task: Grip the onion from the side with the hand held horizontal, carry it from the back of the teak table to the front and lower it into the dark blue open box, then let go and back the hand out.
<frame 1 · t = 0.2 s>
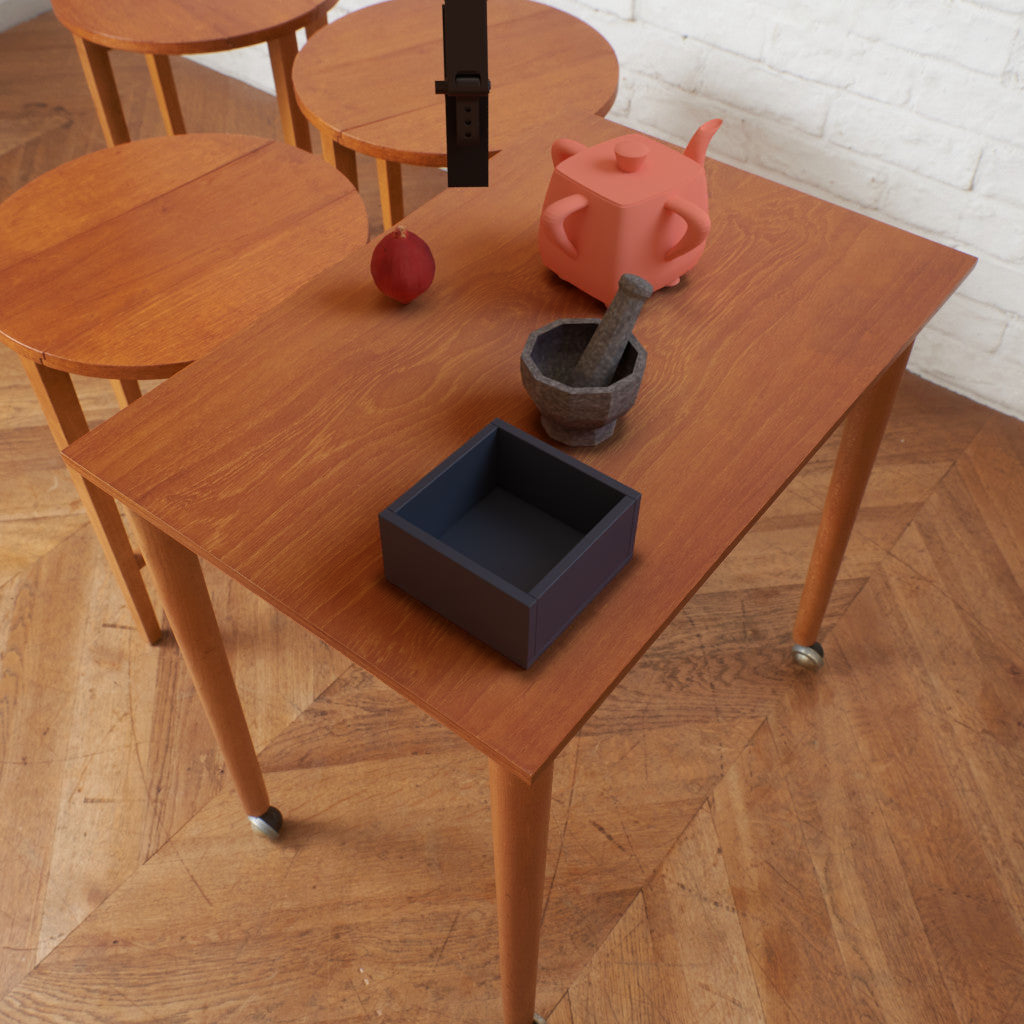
hand: (465, 138, 75), 21 cm above the table, tool pointing down, fingers open, 13 cm apart
mortar and pestle: (584, 419, 86), on the table
dark blue open box: (510, 568, 75), on the table
teapot: (624, 274, 101), on the table
onion: (405, 303, 97), on the table
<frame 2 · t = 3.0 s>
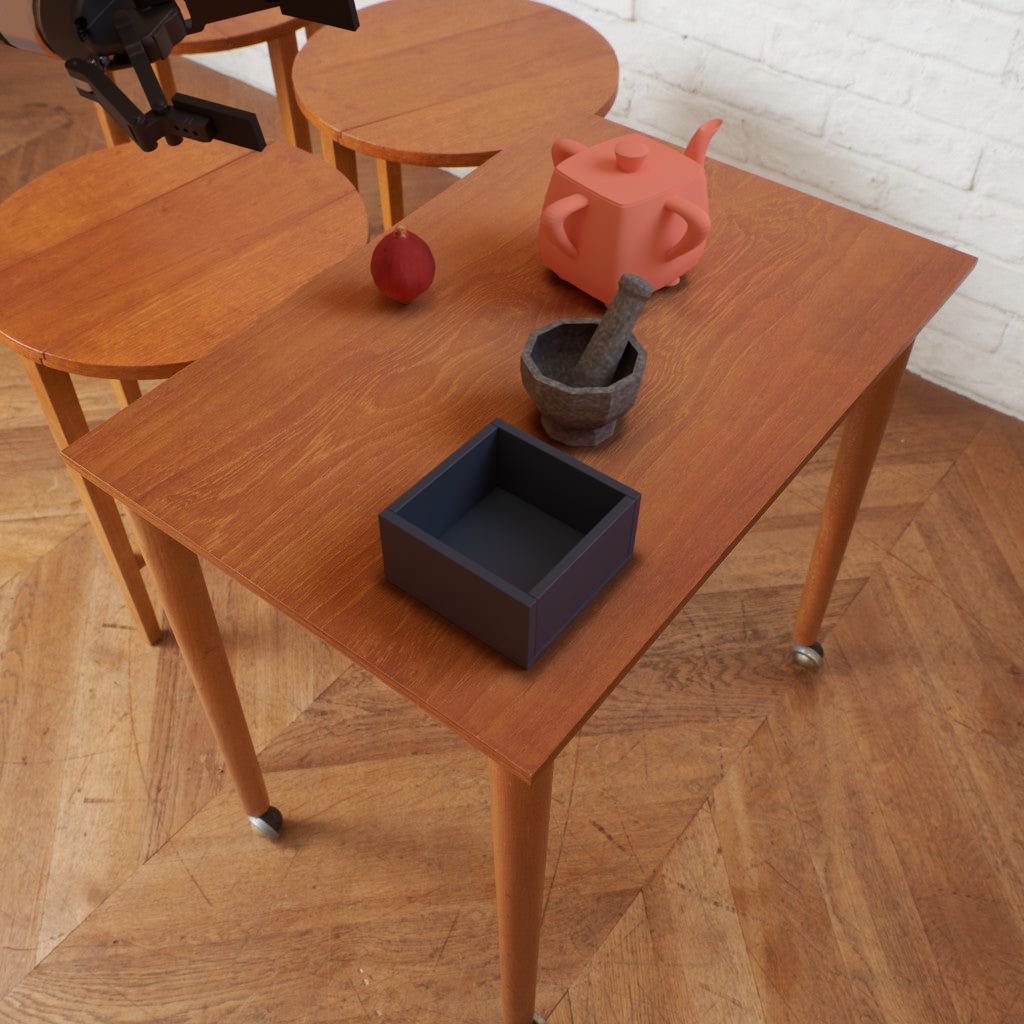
hand: (308, 70, 75), 24 cm above the table, tool horizontal, fingers open, 13 cm apart
nothing on the table moved.
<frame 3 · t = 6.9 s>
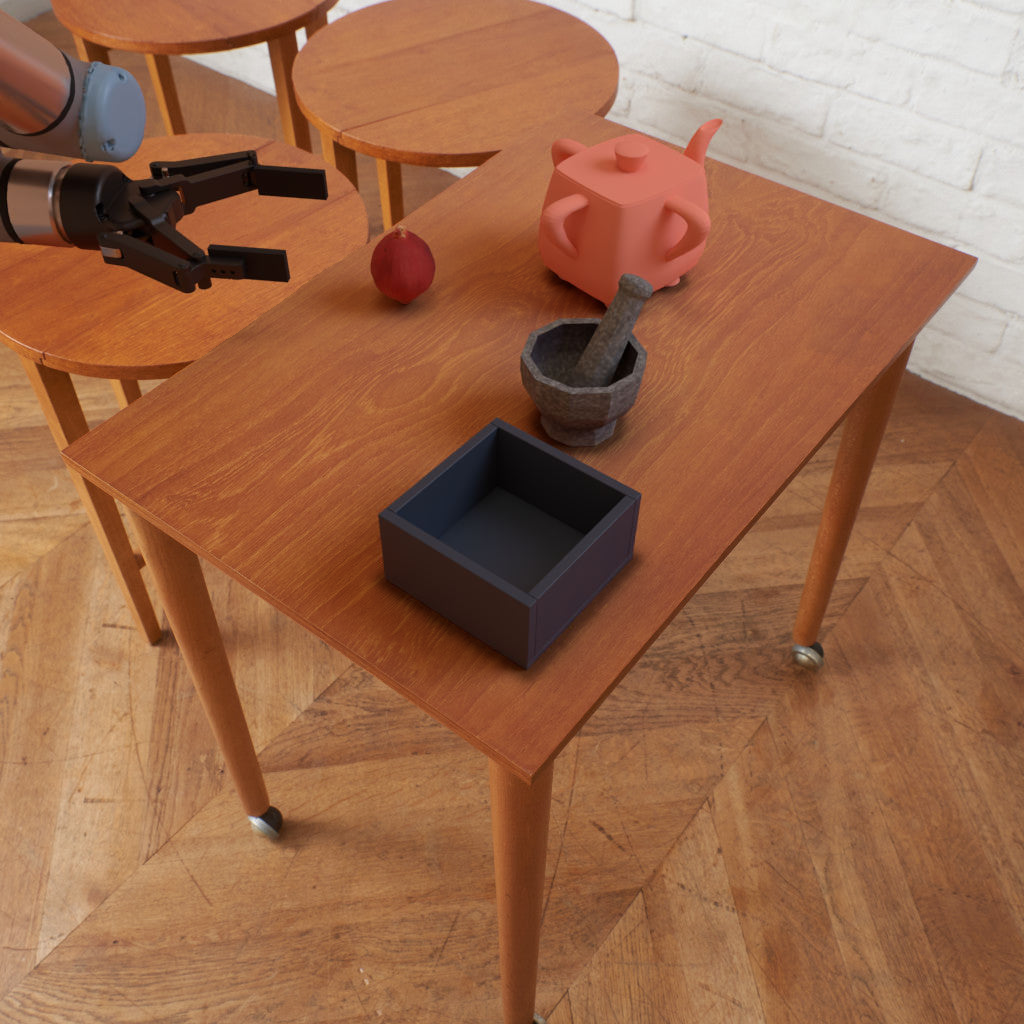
hand: (307, 223, 93), 7 cm above the table, tool horizontal, fingers open, 13 cm apart
nothing on the table moved.
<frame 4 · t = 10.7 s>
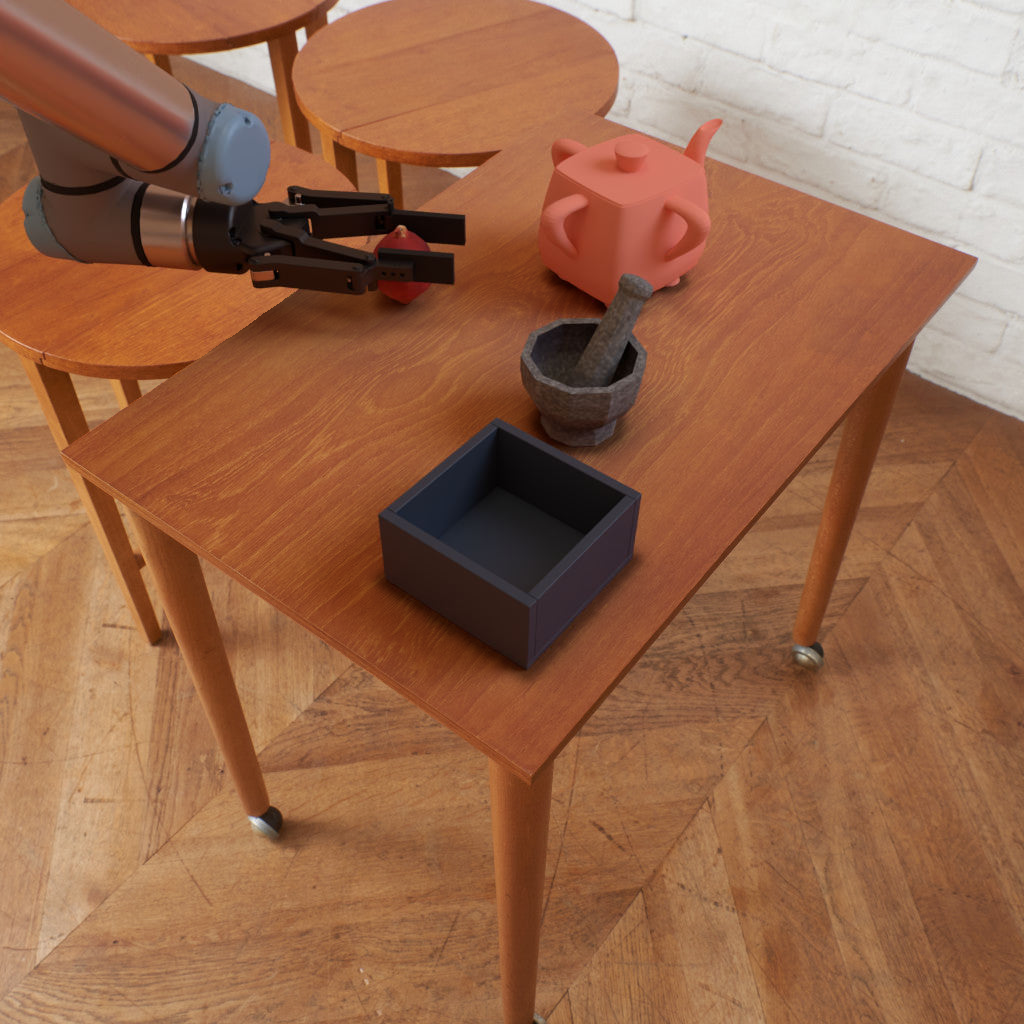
hand: (459, 249, 92), 6 cm above the table, tool horizontal, fingers closed on onion, 6 cm apart
onion: (405, 303, 97), on the table, touching gripper
everything else where it was.
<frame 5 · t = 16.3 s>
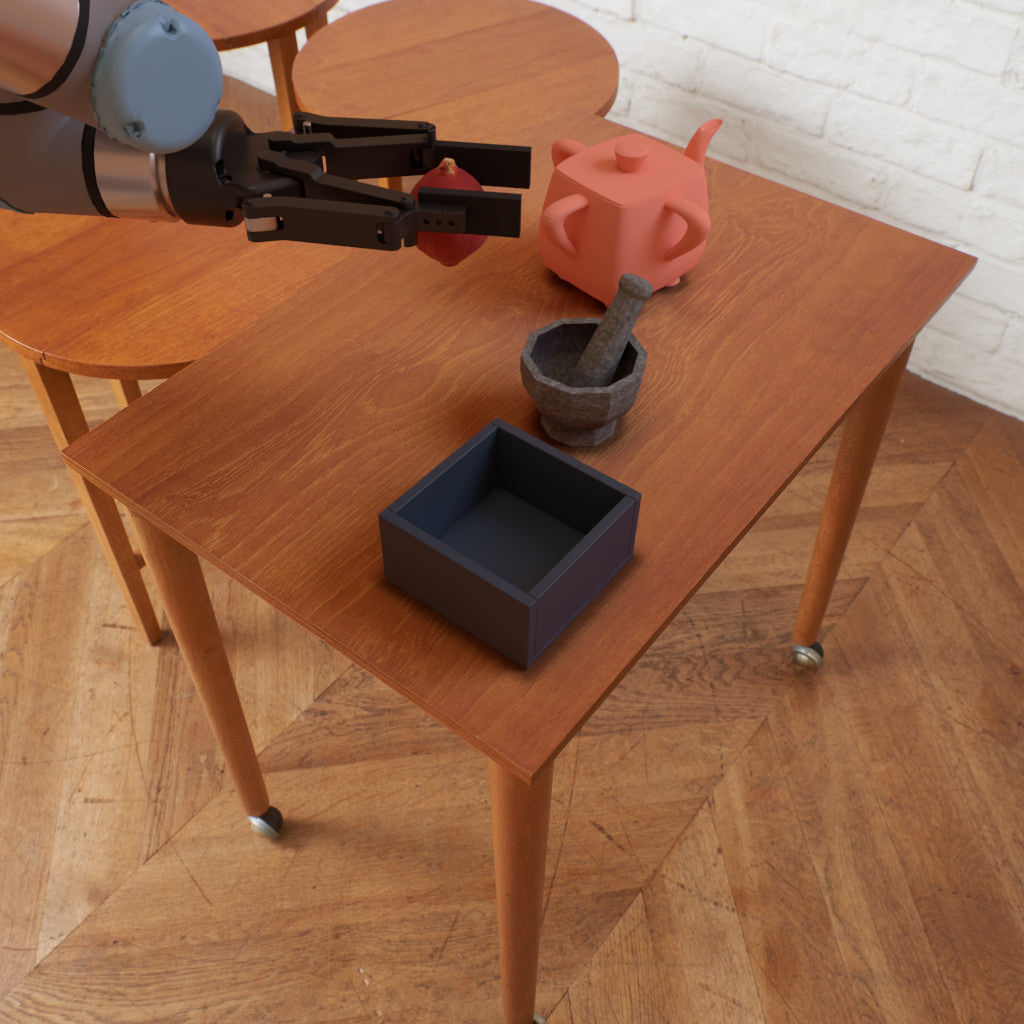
hand: (525, 191, 69), 22 cm above the table, tool horizontal, fingers closed on onion, 6 cm apart
onion: (449, 266, 74), point 15 cm above the table, touching gripper
everything else where it was.
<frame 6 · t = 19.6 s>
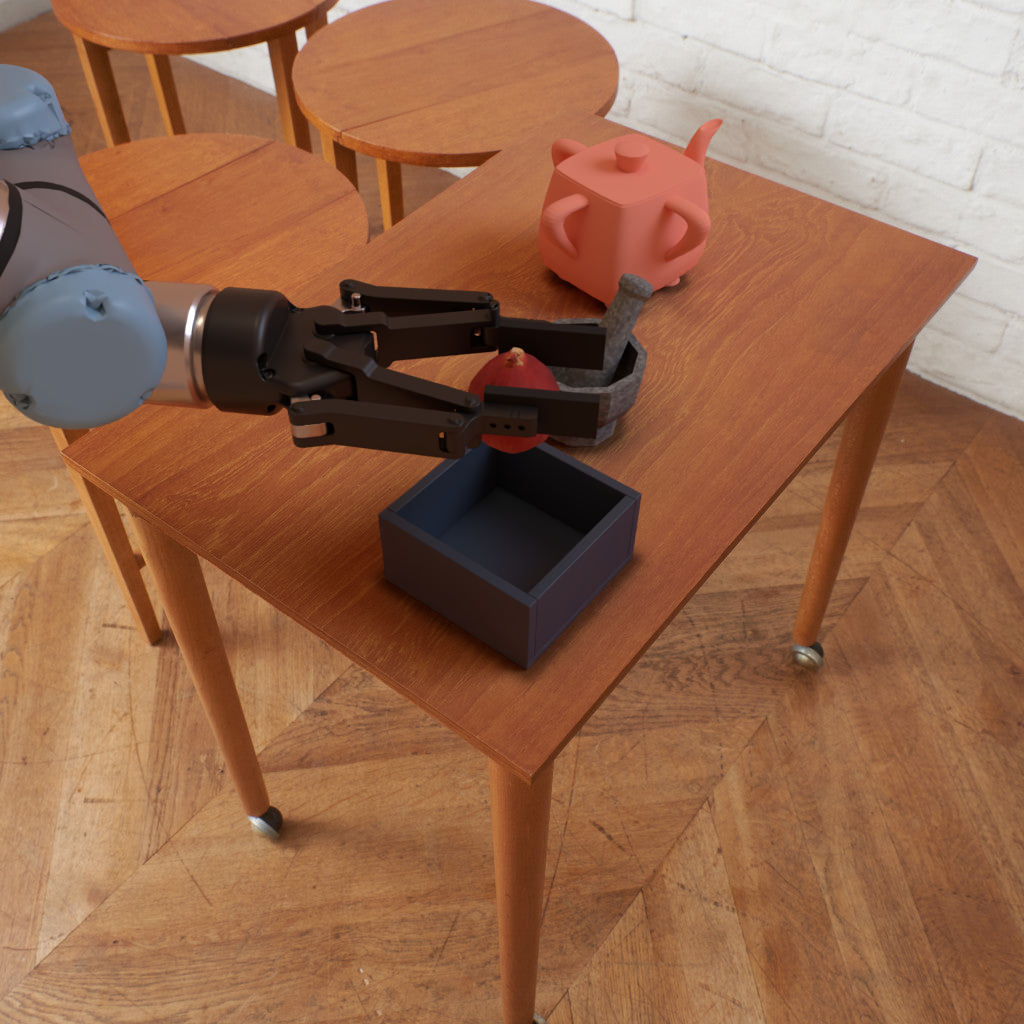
hand: (600, 381, 62), 18 cm above the table, tool horizontal, fingers closed on onion, 6 cm apart
onion: (513, 451, 67), point 11 cm above the table, touching gripper
everything else where it was.
when the fingers open (10 cm above the table, at t = 22.1 s): onion drops 3 cm, resting on dark blue open box.
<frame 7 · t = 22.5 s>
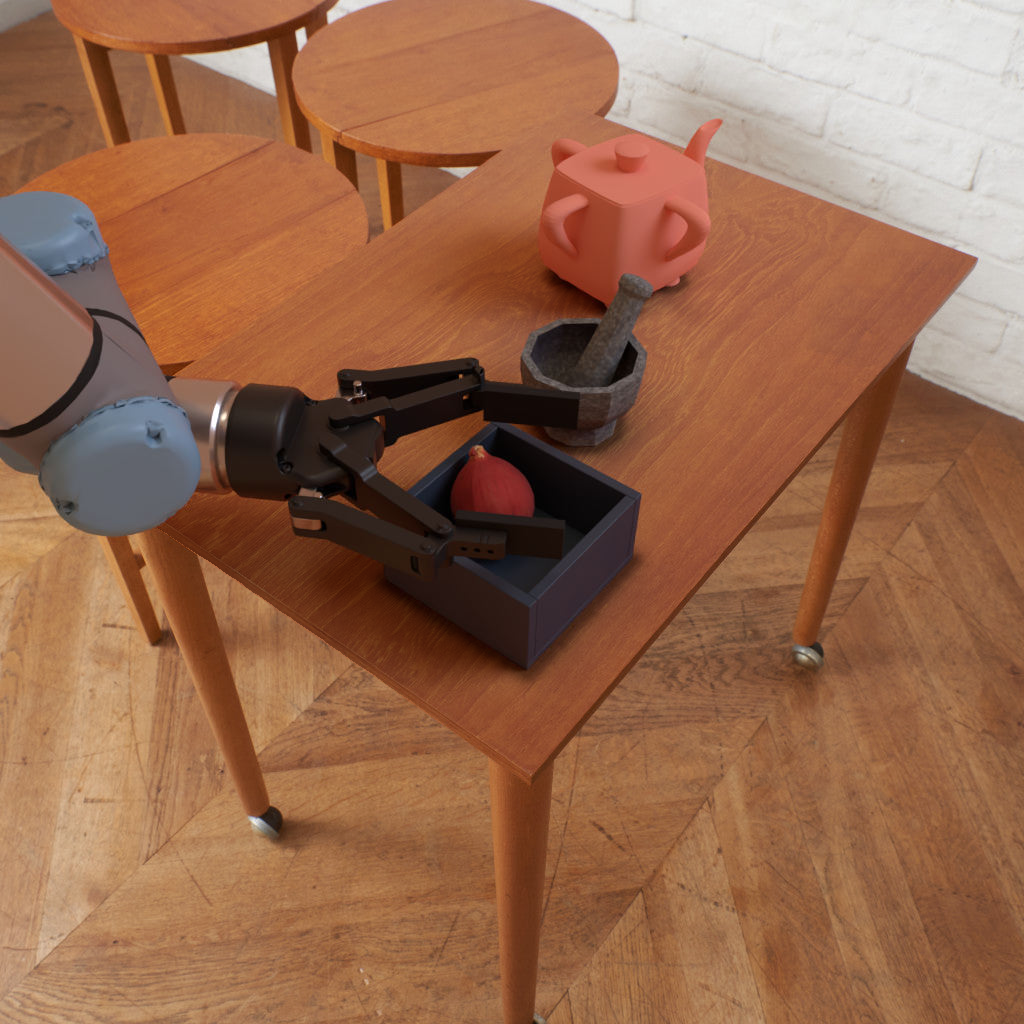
hand: (572, 471, 67), 10 cm above the table, tool horizontal, fingers open, 11 cm apart
onion: (508, 555, 74), point 1 cm above the table, touching dark blue open box
everything else where it was.
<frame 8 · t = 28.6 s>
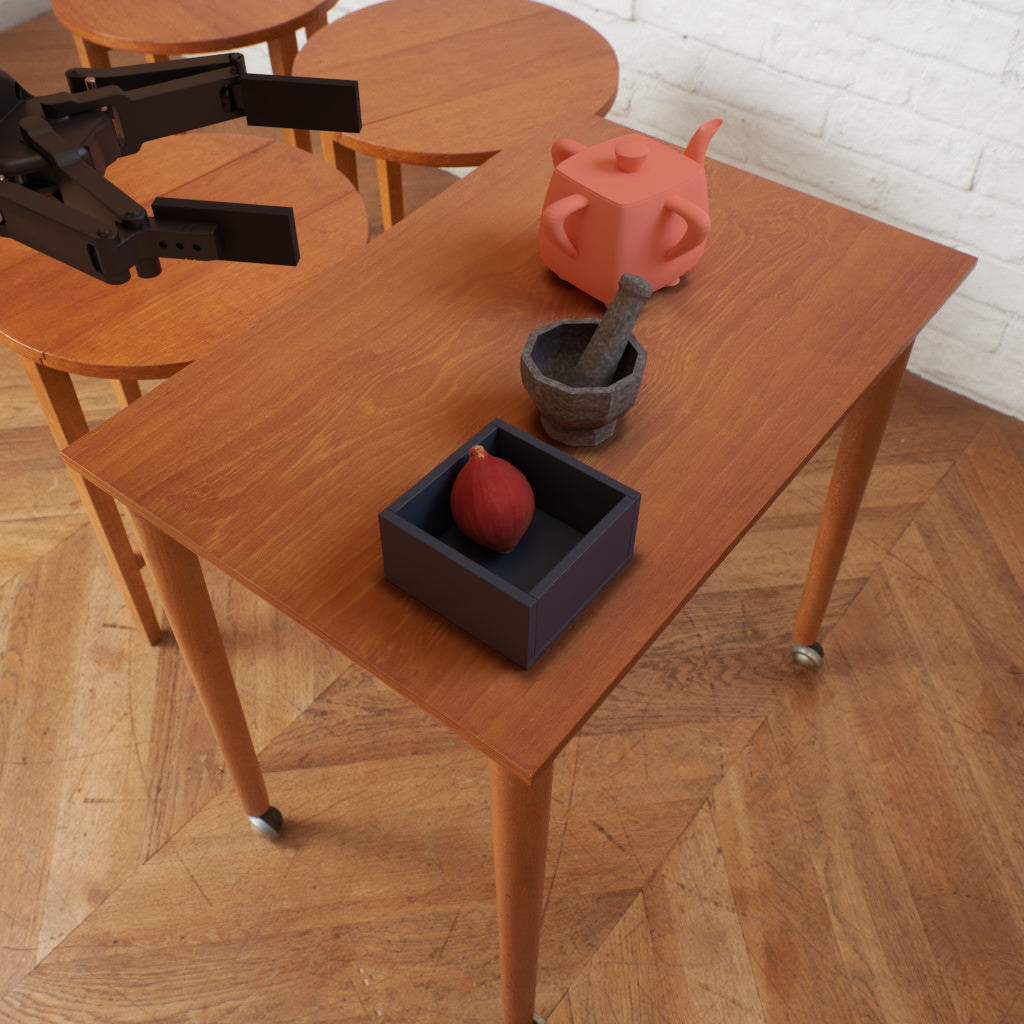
hand: (330, 166, 54), 30 cm above the table, tool horizontal, fingers open, 13 cm apart
nothing on the table moved.
at the end: onion inside the target area in the dark blue open box (0.3 cm from its centre), point 1.2 cm above the dark blue open box's base; the gripper is holding nothing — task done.
